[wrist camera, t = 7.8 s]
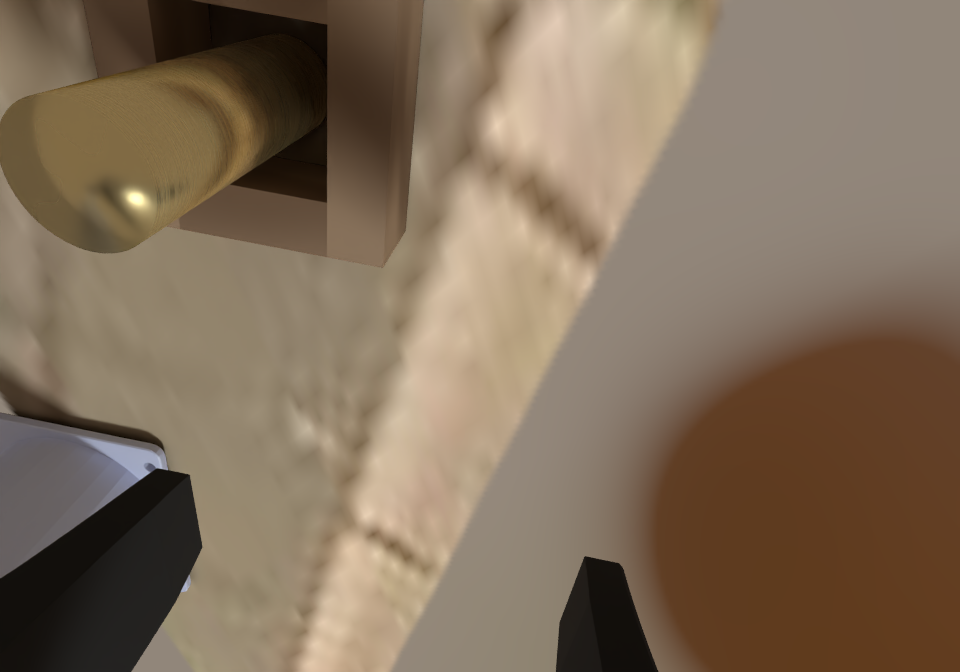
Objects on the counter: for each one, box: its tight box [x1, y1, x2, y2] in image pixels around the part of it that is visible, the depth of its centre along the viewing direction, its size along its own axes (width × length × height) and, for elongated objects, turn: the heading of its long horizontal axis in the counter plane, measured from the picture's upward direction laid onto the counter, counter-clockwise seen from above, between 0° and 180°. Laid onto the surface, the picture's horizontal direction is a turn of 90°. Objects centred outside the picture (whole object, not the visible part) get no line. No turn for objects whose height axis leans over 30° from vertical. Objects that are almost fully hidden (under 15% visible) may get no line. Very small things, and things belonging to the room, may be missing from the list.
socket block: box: [83, 0, 424, 268], centre depth 15 cm, size 7×7×2 cm
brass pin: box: [0, 34, 327, 253], centre depth 13 cm, size 2×2×8 cm
